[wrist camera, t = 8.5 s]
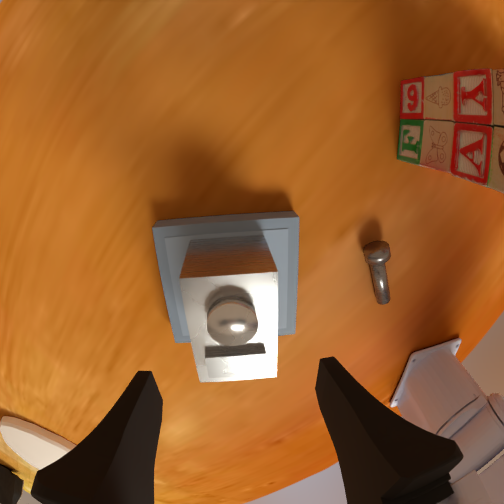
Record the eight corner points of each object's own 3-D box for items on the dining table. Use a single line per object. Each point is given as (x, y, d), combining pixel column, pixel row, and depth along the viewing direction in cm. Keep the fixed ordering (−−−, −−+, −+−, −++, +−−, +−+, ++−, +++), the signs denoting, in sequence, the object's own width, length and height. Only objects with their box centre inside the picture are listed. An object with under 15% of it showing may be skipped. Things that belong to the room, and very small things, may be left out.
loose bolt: (390, 291, 22) (401, 303, 21) (370, 300, 22) (380, 314, 21) (380, 237, 20) (394, 247, 19) (358, 248, 20) (370, 259, 19)
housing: (265, 326, 20) (278, 386, 15) (203, 331, 20) (199, 392, 15) (263, 234, 18) (281, 279, 12) (190, 239, 17) (176, 287, 12)
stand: (291, 322, 22) (295, 334, 21) (177, 330, 22) (175, 343, 20) (293, 210, 19) (299, 217, 18) (157, 220, 18) (151, 227, 17)
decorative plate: (3, 456, 29) (-14, 411, 22) (9, 443, 32) (-4, 393, 25) (107, 507, 36) (133, 487, 29) (109, 492, 40) (137, 466, 33)
